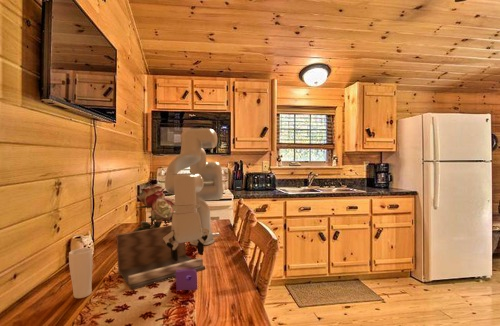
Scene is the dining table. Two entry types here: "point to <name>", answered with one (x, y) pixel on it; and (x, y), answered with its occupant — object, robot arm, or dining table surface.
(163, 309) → the dining table surface
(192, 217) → the robot arm
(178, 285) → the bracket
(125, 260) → the stand
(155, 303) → the dining table surface
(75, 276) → the white cup
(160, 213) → the rose bouquet
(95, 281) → the dining table surface
